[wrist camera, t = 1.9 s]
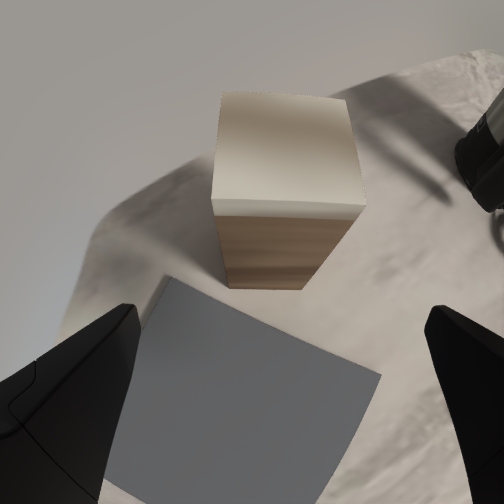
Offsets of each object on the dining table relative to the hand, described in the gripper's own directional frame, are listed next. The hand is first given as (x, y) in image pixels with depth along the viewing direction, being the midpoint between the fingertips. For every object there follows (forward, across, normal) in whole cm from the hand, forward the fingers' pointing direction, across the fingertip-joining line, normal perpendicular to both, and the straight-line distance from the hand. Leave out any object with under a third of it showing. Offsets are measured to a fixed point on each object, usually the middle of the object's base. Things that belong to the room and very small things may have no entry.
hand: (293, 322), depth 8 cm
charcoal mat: (+4, +3, +13) cm, 14 cm away
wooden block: (+13, 0, +4) cm, 14 cm away
